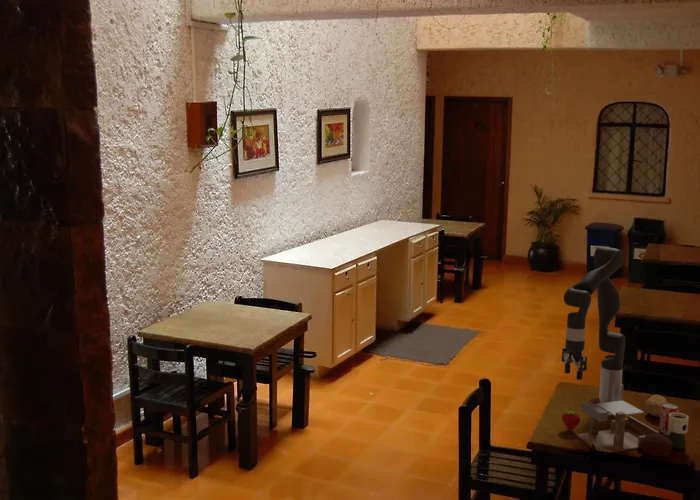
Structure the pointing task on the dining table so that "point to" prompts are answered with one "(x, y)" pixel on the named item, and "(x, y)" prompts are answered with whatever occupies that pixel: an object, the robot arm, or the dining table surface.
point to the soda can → (666, 417)
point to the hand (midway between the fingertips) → (573, 376)
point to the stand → (616, 433)
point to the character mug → (678, 429)
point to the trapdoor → (608, 409)
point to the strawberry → (570, 420)
